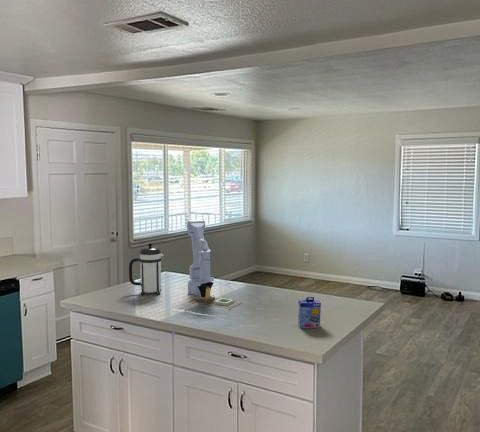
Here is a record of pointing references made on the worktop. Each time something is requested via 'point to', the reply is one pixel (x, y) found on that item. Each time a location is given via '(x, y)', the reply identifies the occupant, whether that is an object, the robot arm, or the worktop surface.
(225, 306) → the switch board
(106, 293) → the worktop surface
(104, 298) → the worktop surface
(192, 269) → the robot arm
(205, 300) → the grey square frame
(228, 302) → the pale green square frame
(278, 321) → the worktop surface
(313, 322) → the ink cartridge box
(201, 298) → the plug
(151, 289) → the coffee press
